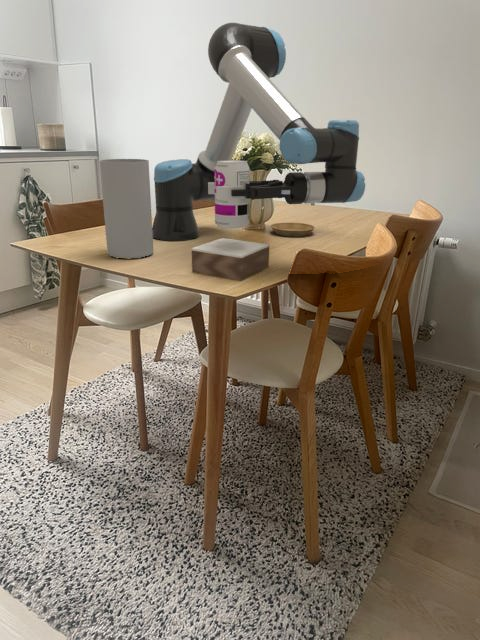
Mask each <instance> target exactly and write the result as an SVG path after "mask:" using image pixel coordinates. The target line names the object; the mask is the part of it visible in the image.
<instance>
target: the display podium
mask: <svg viewBox="0 0 480 640" xmlns="http://www.w3.org/2000/svg"><path fill="white" fill-rule="evenodd" d="M269 267H270V243H262V242H254V241H247V240H239V239H232V238H225V237H221V238H218V239H215V240H212V241H209V242H206V243H203V244H201V245H198V246H194V247H192V248H191V272H192V273H193V274H194V273H195V274H200V275H207V276H211V277H216V278H222V279H223V278H224V279H227V280H234V281H239V282H243V281H244V280H246V279H248V278H251V277H252V276H254V275H256V274H259V273H260V272H262V271H264V270H266V269H268V268H269Z"/></svg>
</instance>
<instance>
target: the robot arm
mask: <svg viewBox="0 0 480 640" xmlns="http://www.w3.org/2000/svg"><path fill="white" fill-rule="evenodd" d="M285 45H286V44H285V42H284V39H283V37H282V35H281V34H280V33H279V32H278V31H276V30H274V29H271V28H268V27H265V26H256V25H249V24H244V23H239V22H228V23H225V24H222V25H221V26H219V27H218V28H217V29H216V30H215V31H214V32H213V33H212V35H211V37H210V39H209V42H208V46H207V47H208V48H207V55H208V60H209V62H210V65H211V67H212V69H213V71H214V72H215V73H216V75H217V76H218V77H219V78H220V79H221V80H222V81H223V82H225V83H227V84H228V86H227V88H226V91H225V94H224V96H223V99H222V102H221V104H220V105H221V106H220V108H219V111H218V114H217V118H216V120H215V122H214V125H213V128H212V131H211V134H210V137H209V140H208V142H207V145H206V148H205V150H202V151H201V152H199V154H198V155H197V156H198V157H197V159H196V161H195V163H193V162H192V160H190V159H184V158H183V159H180V158H178V159H170V160H165V161H161V162H159V163H157V164H156V165H155V167H154V169H153V170H154V173H153V181H154V195H155V196H154V197H155V216H154V220H153V222H152V234H153V239H155V238H156V239H155V240H159V239H160V240H159V241H168V242H171V241H175V242H176V241H178V242H179V241H188V240H193V239H196V238H198V237H199V236H200V229H199V226H198V223H197V220H196V217H195V214H194V208H193V205H194V204H193V202H197V201H209V200H213V201H215V181H214V168H215V166H216V164H217V161H225V160H232V159H233V157H234V154H235V151H236V149H237V147H238V144H239V142H240V139H241V136H242V133H243V132H244V129H245V126H246V124H247V121H248V119H249V118H250V117H249V116H250V114H251V111H252V110H253V112H255V114H256V115H257V116H258V117H259V118H260V119H261V121H262V122H263V123H264V124H265V125H266V126H267V128H268V129H269V130H270V131H271V132H272V133H273V134H274V136H275V137H276V138H277V139H278V141H279V144H278V145H279V151H280V155H281V157H282V159H283V160H284V161H285V162H287V163H290V164H297V165H306V164H315V163H316V164H317V163H318V164H319V163H324V168H325V170H324V171H304V172H302V171H301V172H298V171H297V172H295V171H294V172H291V171H290V172H288V173H287V174H285V178H284V180H280V179H271V180H249V184H246V189H245V186H218V187H216V199H238V198H247V199H249V200H263V199H265V200H266V199H282V198H283V199H284V200H285V202H286V204H288V205H302V204H304V205H305V204H307V205H308V204H310V206H311V207H312V206H313V207H314V206H315V205H316V204H333V203H334V204H339V203H341V204H345V203H352V202H354V203H355V202H358V201H360V200H361V199H362V198H363V196H364V194H365V190H366V183H365V180H366V179H365V176H364V174H363V173H362V172H361V171H359V170H357V159H358V151H359V140H360V136H359V135H360V134H359V133H360V123H359V122H358V121H357V120H354V119H349V120H348V119H330V120H329V121H328V123H327V127H326V128H317V127H314V126H313V125H312V124H311V123H310V122H309V121H308V120H307V119H306V118H305V117H304V115H303V114H302V113H301V112H300V111H299V110H298V109H297V108H296V107H295V106H294V104H292V102H291V101H290V100H289V99H288V98H287V97H286V95H284V93H283V92H282V91H281V90H280V89H279V87H277V86H276V84H275V83H274V82H273V81H272V80H271V79H270V78H275V77H277V76H278V75H280V73H282V71H283V70H284V68H285V64H286V60H287V59H286V57H287V51H286V48H285Z"/></svg>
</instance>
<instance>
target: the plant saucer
mask: <svg viewBox="0 0 480 640" xmlns="http://www.w3.org/2000/svg"><path fill="white" fill-rule="evenodd" d="M270 228H271V229H272V231H273V232H274V233H275V234H277V235H279V236H282V237H290V238H291V237H295V238H296V237H299V238H300V237H306V236H308V235H309V234H311V233H312V232H313V231H314V230H315V225H312V224H309V223H302V222H301V223H300V222H278V223H273V224H271V225H270Z"/></svg>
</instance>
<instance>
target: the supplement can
mask: <svg viewBox="0 0 480 640" xmlns="http://www.w3.org/2000/svg"><path fill="white" fill-rule="evenodd" d="M250 172H251V171H250V166H249V164H248V160H237V159H236V160H234V159H233V160H232V159H231V160H225V161H217V164H216V166H215V168H214V181H215V200H214V224H215V225H217V227H218V228H220V229H221V228H222V229H243V228H246V227H247V226H249V224H250V198H249V199H247V198H238V199H216V187H218V186H245V189H246V184H249V181H250V176H251V175H250Z"/></svg>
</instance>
